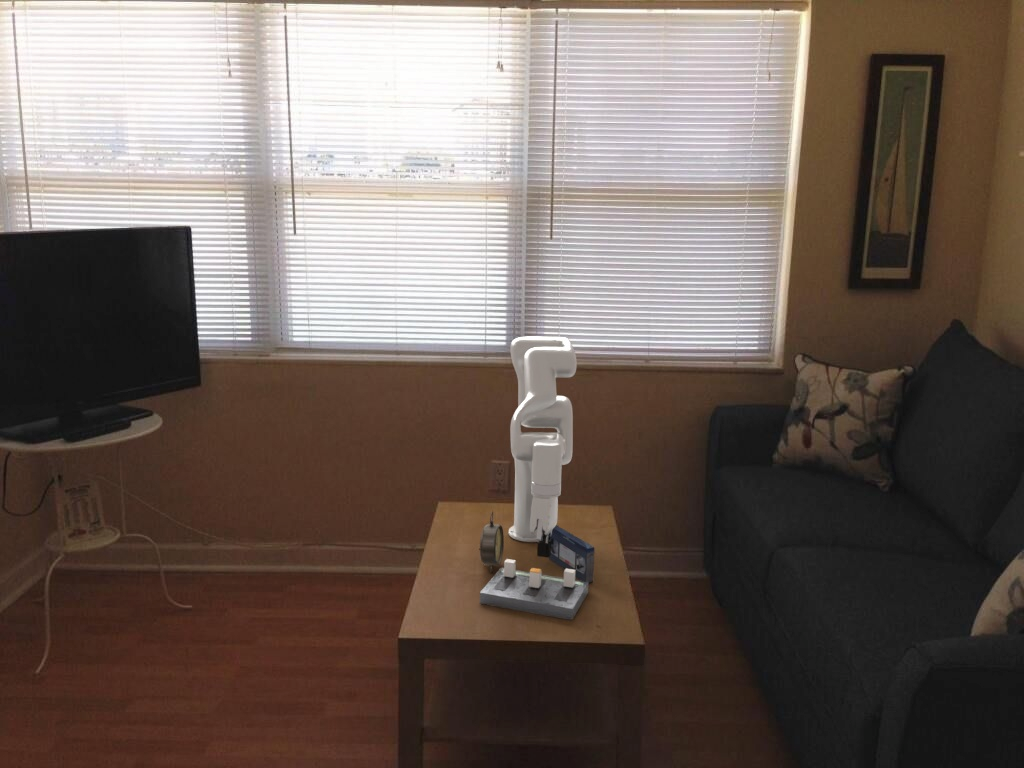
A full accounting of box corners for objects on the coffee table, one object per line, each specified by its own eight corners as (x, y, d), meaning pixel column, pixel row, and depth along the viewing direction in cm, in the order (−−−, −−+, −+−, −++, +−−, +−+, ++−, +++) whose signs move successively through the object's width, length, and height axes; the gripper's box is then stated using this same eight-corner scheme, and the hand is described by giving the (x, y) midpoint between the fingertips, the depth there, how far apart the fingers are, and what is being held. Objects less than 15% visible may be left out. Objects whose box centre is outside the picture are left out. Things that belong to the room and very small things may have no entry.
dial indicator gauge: (495, 575, 244) (497, 519, 241) (476, 573, 246) (477, 517, 242) (504, 559, 255) (505, 505, 251) (485, 557, 256) (486, 503, 252)
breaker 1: (506, 573, 238) (506, 558, 237) (515, 574, 238) (515, 560, 237) (503, 576, 236) (504, 561, 236) (513, 577, 236) (513, 563, 235)
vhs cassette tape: (548, 559, 256) (549, 525, 254) (556, 557, 258) (558, 524, 256) (584, 584, 241) (585, 549, 239) (593, 582, 242) (595, 547, 240)
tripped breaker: (531, 583, 233) (532, 567, 232) (540, 584, 232) (541, 569, 231) (529, 586, 231) (529, 570, 230) (538, 588, 230) (539, 572, 229)
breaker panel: (500, 578, 243) (500, 567, 242) (588, 592, 236) (588, 581, 235) (479, 603, 228) (479, 592, 228) (572, 620, 221) (572, 608, 220)
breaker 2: (565, 582, 233) (566, 568, 233) (574, 584, 233) (575, 569, 232) (563, 586, 232) (563, 571, 231) (572, 587, 231) (573, 572, 230)
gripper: (540, 478, 240) (538, 544, 244) (523, 494, 227) (521, 564, 230) (567, 481, 238) (565, 548, 242) (552, 498, 224) (549, 568, 228)
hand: (544, 555), depth 236 cm, fingers closed
